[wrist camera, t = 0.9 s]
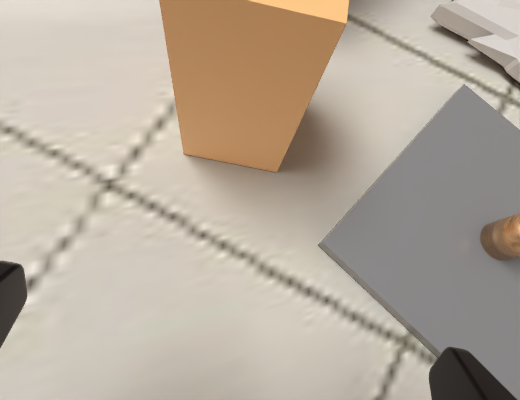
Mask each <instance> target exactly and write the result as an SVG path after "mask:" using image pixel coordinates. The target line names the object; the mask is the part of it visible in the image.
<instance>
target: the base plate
mask: <svg viewBox="0 0 520 400" xmlns="http://www.w3.org/2000/svg"><path fill="white" fill-rule="evenodd" d="M518 213H520V130H519V129H518V128H517V127H516V126H514V125H513V124H512V123H511V122H510V121H508V120H507V119H506V118H505V117H503V116H502V115H501V114H500V113H499V112H497V111H496V110H495V109H494V108H493V107H491V106H490V105H489V104H488V103H486V102H485V101H484V100H483V99H482V98H480V97H479V96H478V95H477V94H476V93H474V92H473V91H472V90H471V89H470V88H468V87H467V86H466V85H465V84H464V85H463V86H462V87H461V88H459V89H458V90H457V91H456V92H455V93H454V94H453V95H452V97H451V98H450V99H449V100H448V101H447V102H446V103H445V104H444V105H443V107H442V108H441V109H440V110H439V111H438V112H437V113H436V114H435V116H434V117H433V118H432V119H431V120H430V121H429V122H428V123H427V124H426V126H425V127H424V128H423V129H422V130H421V131H420V132H419V133H418V134H417V136H416V137H415V138H414V139H413V140H412V141H411V142H410V143H409V144H408V146H407V147H406V148H405V149H404V150H403V151H402V152H401V153H400V155H399V156H398V157H397V158H396V159H395V160H394V161H393V162H392V163H391V165H390V166H389V167H388V168H387V169H386V170H385V171H384V172H383V173H382V175H381V176H380V177H379V178H378V179H377V180H376V181H375V182H374V183H373V185H372V186H371V187H370V188H369V189H368V190H367V191H366V192H365V194H364V195H363V196H362V197H361V198H360V199H359V200H358V201H357V202H356V204H355V205H354V206H353V207H352V208H351V209H350V210H349V211H348V212H347V214H346V215H345V216H344V217H343V218H342V219H341V220H340V221H339V223H338V224H337V225H336V226H335V227H334V228H333V229H332V230H331V231H330V233H329V234H328V235H327V236H326V237H325V238H324V239H323V240H322V241H321V243H320V244H319V245H318V246H319V247H320V248H322V249H323V250H324V251H325V252H326V253H327V254H328V255H329V256H330V257H331V258H332V259H333V260H334V261H335V262H336V263H338V264H339V265H340V266H341V267H342V268H343V269H344V270H345V271H346V272H347V273H348V274H349V275H350V276H351V277H352V278H353V279H355V280H356V281H357V282H358V283H359V284H360V285H361V286H362V287H363V288H364V289H365V290H366V291H367V292H368V293H369V294H371V295H372V296H373V297H374V298H375V299H376V300H377V301H378V302H379V303H380V304H381V305H382V306H383V307H384V308H385V309H386V310H388V311H389V312H390V313H391V314H392V315H393V316H394V317H395V318H396V319H397V320H398V321H399V322H400V323H401V324H402V325H404V326H405V327H406V328H407V329H408V330H409V331H410V332H411V333H412V334H413V335H414V336H415V337H416V338H417V339H418V340H419V341H421V342H422V343H423V344H424V345H425V346H426V347H427V348H428V349H429V350H430V351H431V352H432V353H433V354H434V355H435V356H437V357H439V356H440V355H441V353H442V352H443V350H444V349H445V348H447V347H455V348H460V349H465V350H467V351H469V352H470V353H471V354H472V355H473V356H474V357H475V358H476V359H477V360H478V361H479V362H480V363H481V364H482V365H483V366H484V367H485V368H486V369H487V370H488V371H489V372H490V373H491V374H492V375H493V376H494V377H495V378H496V379H497V380H498V381H499V382H500V383H501V384H502V385H503V386H504V387H505V388H506V389H507V390H508V391H509V392H510V393H511V394H512V395H513V396H514V397H515V398H516V399H517V400H520V257H518V258H512V259H507V260H497V259H495V258H493V257H491V256H490V255H488V254H487V253H486V251H485V250H484V249H483V247H482V244H481V241H480V234H481V230H482V229H483V227H484V226H485V225H486V224H488V223H491V222H494V221H497V220H500V219H503V218H506V217H509V216H512V215H515V214H518Z"/></svg>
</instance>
